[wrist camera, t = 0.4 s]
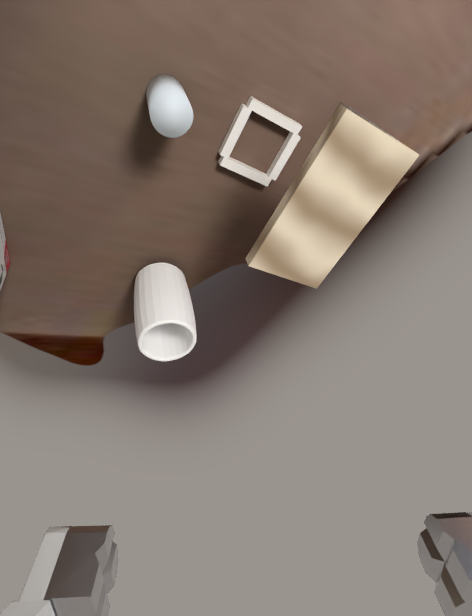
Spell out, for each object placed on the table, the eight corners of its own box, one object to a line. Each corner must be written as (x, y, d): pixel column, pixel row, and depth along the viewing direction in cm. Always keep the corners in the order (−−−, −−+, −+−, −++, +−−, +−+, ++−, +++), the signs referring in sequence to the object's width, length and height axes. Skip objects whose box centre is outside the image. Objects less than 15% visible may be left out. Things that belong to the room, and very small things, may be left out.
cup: (196, 273, 64) (211, 335, 54) (164, 306, 67) (173, 370, 57) (154, 246, 59) (161, 309, 49) (121, 283, 62) (121, 349, 52)
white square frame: (246, 93, 48) (248, 96, 47) (302, 125, 52) (305, 128, 51) (214, 159, 52) (215, 163, 51) (268, 184, 56) (270, 188, 55)
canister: (154, 66, 44) (159, 83, 38) (190, 85, 46) (200, 104, 40) (140, 105, 46) (143, 126, 41) (175, 122, 48) (183, 144, 43)
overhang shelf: (288, 68, 47) (346, 108, 35) (349, 107, 51) (419, 154, 40) (221, 198, 56) (248, 266, 44) (277, 221, 61) (316, 288, 49)
